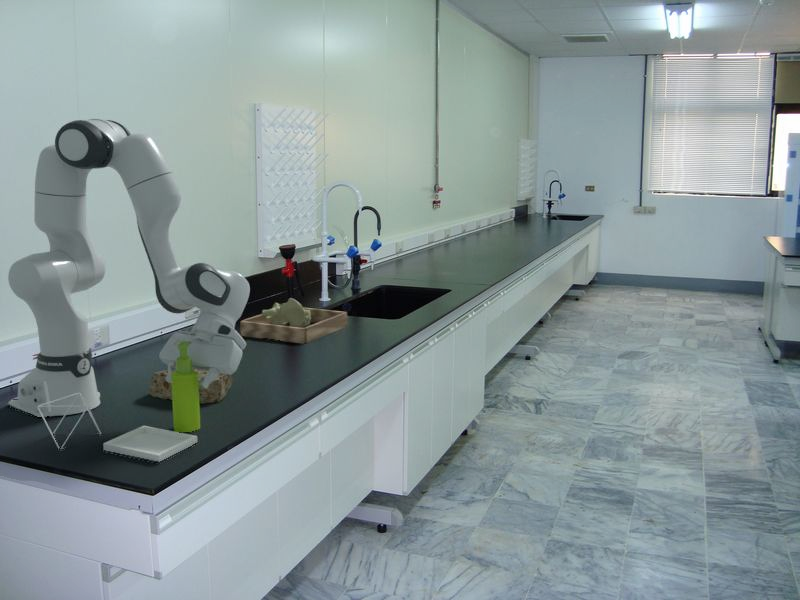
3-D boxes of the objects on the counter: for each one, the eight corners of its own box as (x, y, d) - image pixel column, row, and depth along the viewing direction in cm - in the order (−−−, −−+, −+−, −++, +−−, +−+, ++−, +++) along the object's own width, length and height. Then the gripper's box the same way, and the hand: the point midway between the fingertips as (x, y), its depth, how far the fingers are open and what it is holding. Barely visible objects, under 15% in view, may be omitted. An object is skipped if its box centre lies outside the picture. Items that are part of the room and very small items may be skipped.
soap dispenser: (203, 422, 180) (200, 339, 176) (197, 432, 173) (193, 347, 169) (178, 422, 180) (174, 339, 176) (171, 433, 173) (166, 347, 169)
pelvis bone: (267, 315, 283) (299, 292, 284) (288, 345, 281) (321, 322, 282) (254, 308, 263) (289, 283, 264) (276, 341, 261) (311, 316, 262)
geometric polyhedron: (96, 427, 176) (93, 389, 175) (106, 442, 167) (103, 402, 165) (37, 438, 170) (33, 398, 168) (44, 454, 161) (40, 413, 159)
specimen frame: (239, 335, 264) (238, 321, 263) (287, 318, 291) (287, 305, 291) (305, 343, 254) (304, 329, 253) (348, 325, 281) (348, 312, 280)
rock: (141, 403, 196) (142, 364, 197) (177, 399, 210) (178, 363, 211) (208, 404, 189) (208, 363, 189) (241, 401, 202) (242, 363, 203)
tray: (103, 451, 162) (103, 443, 162) (144, 433, 173) (143, 425, 172) (159, 463, 156) (158, 455, 156) (197, 443, 167) (197, 436, 166)
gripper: (169, 321, 183) (142, 371, 176) (240, 330, 175) (215, 383, 168) (183, 336, 188) (157, 385, 181) (252, 345, 180) (228, 396, 173)
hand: (185, 384), depth 174 cm, fingers open, 8 cm apart
